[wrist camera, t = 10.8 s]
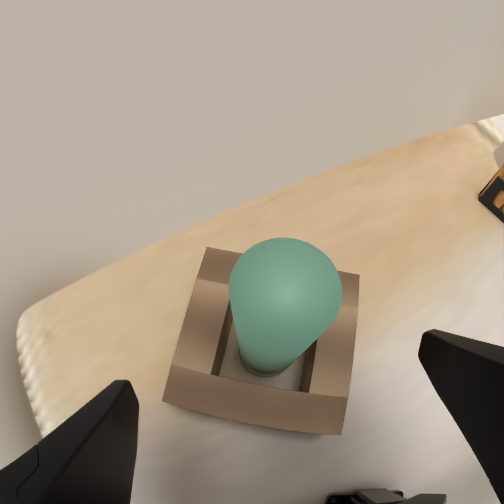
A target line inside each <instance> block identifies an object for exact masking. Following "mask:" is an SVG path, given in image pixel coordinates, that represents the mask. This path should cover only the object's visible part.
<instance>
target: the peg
mask: <svg viewBox="0 0 504 504" xmlns="http://www.w3.org/2000/svg"><path fill="white" fill-rule="evenodd" d="M228 291H229V299H230V305H231V310H232V316H233V321H234V326H235V331H236V337H237V342H238V347H239V352H240V357H241V360H242V362H243V364H244V366H245V367H246V368H247V369H248V370H249V371H250V372H252V373H253V374H256V375H258V376H262V377H271V376H275V375H278V374H280V373H281V372H283V371H284V370H285V369H286V368H287V367H289V366H290V365H291V364H292V363H293V362H294V361H295V360H296V359H297V358H298V357H299V356H300V355H301V354H302V353H303V352H304V351H305V350H306V349H307V348H308V347H309V346H310V345H311V344H312V343H313V342H314V341H315V340H316V339H317V338H318V337H319V336H320V335H321V334H322V333H323V332H324V331H325V330H326V329H327V328H328V327H329V326H330V325H331V324H332V322H333V321H334V319H335V318H336V316H337V314H338V312H339V309H340V306H341V301H342V284H341V280H340V276H339V274H338V272H337V269H336V268H335V266H334V264H333V263H332V262H331V260H330V259H329V258H328V257H327V256H326V255H325V254H324V253H323V252H322V251H321V250H319V249H318V248H316V247H315V246H313V245H311V244H309V243H306V242H304V241H301V240H297V239H291V238H275V239H270V240H266V241H263V242H260V243H258V244H256V245H254V246H253V247H251V248H250V249H248V250H247V251H246V252H245V253H244V254H243V255H242V256H241V257H240V258H239V259H238V261H237V262H236V264H235V266H234V268H233V269H232V272H231V275H230V279H229V289H228Z"/></svg>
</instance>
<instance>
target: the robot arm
mask: <svg viewBox="0 0 504 504" xmlns="http://www.w3.org/2000/svg"><path fill="white" fill-rule="evenodd" d="M418 357H419V360H420V362H421V364H422V366H423V368H424V369H425V371H426V373H427V375H428V377H429V379H430V381H431V383H432V385H433V386H434V388H435V390H436V392H437V394H438V395H439V397H440V398H441V400H442V402H443V403H444V405H445V406H446V408H447V409H448V411H449V412H450V414H451V416H452V417H453V419H454V420H455V422H456V424H457V425H458V427H459V428H460V430H461V432H462V433H463V435H464V437H465V438H466V440H467V442H468V443H469V445H470V447H471V448H472V450H473V452H474V454H475V455H476V457H477V459H478V461H479V462H480V464H481V466H482V468H483V470H484V471H485V473H486V475H487V477H488V479H489V481H490V483H491V485H492V487H493V489H494V491H495V493H496V495H497V497H498V499H499V501H500V503H501V504H504V347H502V346H498V345H494V344H490V343H486V342H482V341H478V340H474V339H470V338H466V337H463V336H459V335H455V334H451V333H448V332H444V331H440V330H436V329H432V330H429V331H426V332H424V333H423V335H422V339H421V343H420V347H419V352H418ZM138 418H139V402H138V399H137V397H136V394H135V392H134V390H133V387H132V385H131V383H130V381H128V380H115V381H113V382H112V383H111V384H110V385H109V386H107V387H106V388H105V389H104V390H102V391H101V392H100V393H99V394H98V395H96V396H95V397H94V398H93V399H91V400H90V401H89V402H88V403H87V404H85V405H84V406H83V407H82V408H80V409H79V410H78V411H77V412H76V413H74V414H73V415H72V416H71V417H69V418H68V419H67V420H66V421H64V422H63V423H62V424H61V425H60V426H58V427H57V428H56V429H55V430H53V431H52V432H51V433H50V434H48V435H47V436H46V437H45V438H43V439H42V440H41V441H40V442H38V445H35V446H33V447H32V448H31V449H30V450H29V451H27V452H26V453H24V454H23V455H22V456H20V457H19V458H18V459H16V460H15V461H14V462H12V463H10V464H9V465H8V466H6V467H4V468H3V469H1V470H0V504H130V499H131V490H132V483H133V475H134V468H135V461H136V454H137V440H138ZM397 494H399V495H397ZM332 498H335V500H334V501H332V502H331V501H330V500H331V499H332ZM324 504H446V495H445V494H419V495H416V496H414V497H412V498H409V499H406V498H404V497H403V492H402V491H399V490H395V491H389V490H387V489H370V490H357V491H355V492H354V493H344V494H336V493H334V494H330V495H328V496H327V497H326V500H325V503H324Z"/></svg>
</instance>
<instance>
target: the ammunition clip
mask: <svg viewBox="0 0 504 504" xmlns="http://www.w3.org/2000/svg"><path fill="white" fill-rule="evenodd" d="M479 201H480V202H481V203H482V204H483V205H484V206H485V207H487V208H488V209H489V210H490V211H491V212H492V213H493V214H494V215H495V216H497V217H498V218H499V219H500V220H501V221H502V222H503V223H504V164H503V165H502V167H501V168H500V170H498V172H497V173H496V174H495V175H494V176H493V178H492V179H491V180H490V181H489V183H488V184H487V185H486V186H485V187H484V188H483V190H482V191H481V192H480V194H479Z"/></svg>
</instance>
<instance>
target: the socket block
mask: <svg viewBox="0 0 504 504" xmlns="http://www.w3.org/2000/svg"><path fill="white" fill-rule="evenodd" d="M242 255H243V254H242V253H236V252H231V251H226V250H220V249H215V248H209V247H207V248H206V251H205V254H204V257H203V260H202V263H201V266H200V270H199V273H198V276H197V279H196V282H195V286H194V289H193V292H192V295H191V299H190V302H189V305H188V309H187V312H186V316H185V319H184V322H183V326H182V329H181V333H180V336H179V340H178V343H177V347H176V350H175V354H174V358H173V361H172V365H171V369H170V372H169V376H168V380H167V384H166V387H165V391H164V395H163V399H162V401H163V402H166V403H169V404H172V405H175V406H179V407H182V408H186V409H189V410H193V411H196V412H200V413H204V414H208V415H212V416H216V417H220V418H224V419H229V420H233V421H238V422H243V423H248V424H253V425H258V426H264V427H270V428H277V429H283V430H291V431H299V432H307V433H317V434H329V435H341V433H342V428H343V422H344V417H345V411H346V405H347V399H348V393H349V386H350V379H351V372H352V364H353V355H354V346H355V336H356V325H357V312H358V297H359V276H360V275H357V274H352V273H346V272H341V271H337V272H338V274H339V276H340V280H341V284H342V301H341V306H340V309H339V312H338V314H337V316H336V318H335V319H334V321H333V322H332V324H331V325H330V326H329V327H328V328H327V329H326V330H325V331H324V332H323V333H322V334H321V335H320V336H319V337H318V338H317V339H316V340H315V341H314V342H313V343H312V344H311V345H310V346H309V347H308V348H307V349H306V355H305V361H304V367H303V373H302V379H301V384H300V390H299V392H298V391H291V390H285V389H279V388H273V387H267V386H262V385H256V384H251V383H246V382H241V381H237V380H232V379H228V378H223V377H219V372H220V368H221V364H222V360H223V356H224V352H225V347H226V343H227V339H228V335H229V331H230V327H231V323H232V319H233V316H232V310H231V305H230V299H229V291H228V289H229V279H230V275H231V272H232V269H233V268H234V266H235V264H236V262H237V261H238V259H239V258H240V257H241V256H242Z"/></svg>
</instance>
